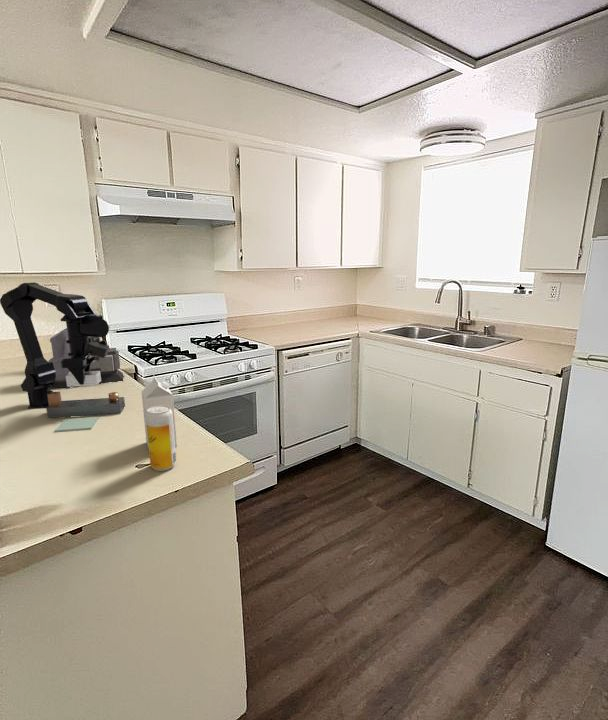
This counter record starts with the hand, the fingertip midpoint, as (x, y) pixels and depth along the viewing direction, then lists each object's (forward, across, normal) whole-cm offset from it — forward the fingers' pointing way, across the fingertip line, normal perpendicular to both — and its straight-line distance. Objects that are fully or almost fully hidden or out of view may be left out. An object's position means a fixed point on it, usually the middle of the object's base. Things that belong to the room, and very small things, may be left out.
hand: (84, 382), depth 135 cm
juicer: (+11, +40, +12) cm, 43 cm away
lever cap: (0, 0, 0) cm, 0 cm away
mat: (+11, -11, 0) cm, 15 cm away
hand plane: (+11, 0, 0) cm, 11 cm away
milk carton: (+11, -31, -27) cm, 42 cm away
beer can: (+11, -44, -29) cm, 54 cm away
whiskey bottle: (+11, +63, +16) cm, 66 cm away
